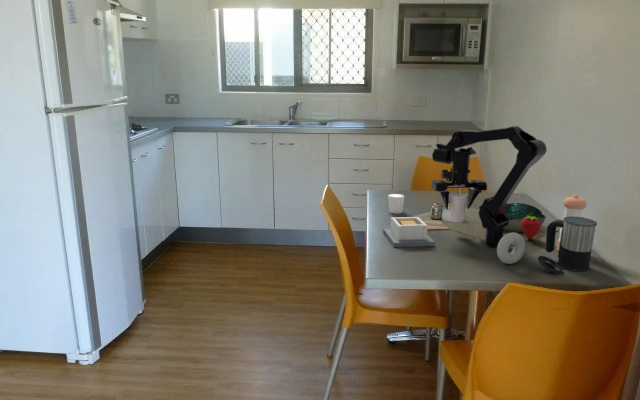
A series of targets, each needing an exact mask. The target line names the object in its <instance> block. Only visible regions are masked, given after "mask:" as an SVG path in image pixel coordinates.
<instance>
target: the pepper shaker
mask: <svg viewBox="0 0 640 400" xmlns="http://www.w3.org/2000/svg"><path fill="white" fill-rule="evenodd" d="M562 205H563V207H564V213H563V214H564V215H563V219H562V220H564V218H565V217H569V216H574V217H583V214H584V209H586V208H587V206H588V203H587V200H586V199H585V198H582V197H580V196H579V195H577V194H574V195H572V196H568V197H565V198H564V199H563V202H562ZM561 233H562V228H561V227H560V230H559V237H558V239H557V244H556V251H557V252H559V247H560V240H561Z"/></svg>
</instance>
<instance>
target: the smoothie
mask: <svg viewBox="0 0 640 400" xmlns="http://www.w3.org/2000/svg"><path fill="white" fill-rule="evenodd" d="M458 189H459V191H458V192H449V206H450V220H451V222H455V223H461V222H462V221H463V217H464V211H465V206H466V202H467V199H468V194H467V193H464V192H461V191H462V188H458Z"/></svg>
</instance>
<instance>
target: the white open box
mask: <svg viewBox="0 0 640 400" xmlns="http://www.w3.org/2000/svg"><path fill="white" fill-rule="evenodd" d="M400 221H415V222H416V223H417V224H418V225H400ZM423 221H424V220H422V219H421V218H420V217H419V216H414V217H413V216H408V217H407V216H406V217H405V216H404V217H402V216H401V217H390V225H389V226H390V227H389V228H383V229H382V233H383V235H384V236H385V237H386V239H387V240H388V241H389V243H390V244H391V245H392V247H394V248H409V247H410V248H411V247H414V248H415V247H435V243H436V242H435V240H434V239H433V238H432V237H430V235H428V230H427V225H426V224H425V223H424V222H423Z"/></svg>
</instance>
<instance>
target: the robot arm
mask: <svg viewBox="0 0 640 400" xmlns="http://www.w3.org/2000/svg"><path fill="white" fill-rule="evenodd" d="M501 140H508V141H510V143H511V145H513V147H514V148H515V149H516V150H517V154H516V158H515V163H514V165H513V166H512V168H511V169H510V172H509V173H508V174H507V176H506V177H505V179H504V181H503V182H502V183H501V185H500V186H499V187H498V189H497V191H496V192H495V194H494V196H490V197H487V198H484V199H483V202H482V204H481V206H479V207H478V210H479V211H478V218H479V219H480V221H481V225H482V228H483V229H485V236H484V237H485V238H484V239H481V240H480V242H482V244H484V245H485V246H487V247H488V248H497V246H498V243H499V241H500V240H501V238H502V237H503V236H504V230H505V227H508V226H509V224H510V219H509V218H508V217H507V215H506V213H505V212H506V210H507V203H508V201H509V199H510V198H511V196H512V195H513V194H514V192H515V190H516V189H517V187H518V186H519V184H520V183H521V182H522V180H523V179H524V177H525V176H526V174H527V172H528V171H529V170H530V168H532V167H533V166H534V165H536V163H538V162H539V161H540V160H541V159H542V158H543V156H545V155H546V153H547V150H548V149H547V145H546V143H545V142H544V141H542V140H541V139H537V138H536V137H535V136H533V135H532V134H530V133H528V132H526V131H524V129H523V128H521V127H520V126H517V125H514V126H508V127H503V128H495V129H494V128H493V129H487V130H476V129H461V130H455V131H454V132H453V133H452V136H451V138H450V140H449V141H448V142H447V144H444V143H436V145H435V146H436V147H435V148H434V149H433V151H432V153H431V155H432V161H433V162H435V163H441V164H446V165H450V164H451V165H452V166H451V167H450V171H449V170H448V169H441V172H440V177H441V179H437V180H435V179H434V180H432V182H431V185H430V186H431V188H432V190H434V191H436V192H439V194H440V195H441V197H442V201H443V204H444V208H445V210H448V208H449V203H450V197H449V194H450V191H448V189H459V188H461V189H463V188H465V189H466V188H467V190H468V194H467V201H466V202H467V205H466V209H469V210H470V208H471V207H472V205H473V203H474V201H475V200H476V198H477V197H478V195H479V194H481V193H483V191H487V190H488V184H487V182H486V181H484V180H482V179H471V181H469V174H470V173H471V169H470V162H471V161H470V160H471V156H472V155H476V154H477V152H476V150H474V148H473V147H472V145H473V146H474V145H477V144H478V143H481V142H490V141H501ZM469 146H470V147H469ZM464 147H466V148H464Z"/></svg>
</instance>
